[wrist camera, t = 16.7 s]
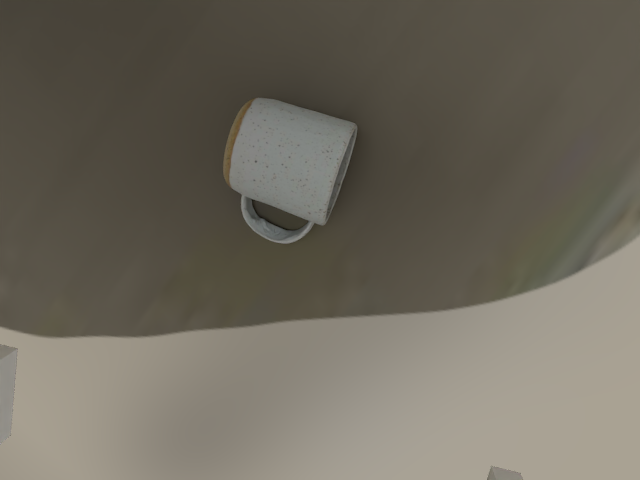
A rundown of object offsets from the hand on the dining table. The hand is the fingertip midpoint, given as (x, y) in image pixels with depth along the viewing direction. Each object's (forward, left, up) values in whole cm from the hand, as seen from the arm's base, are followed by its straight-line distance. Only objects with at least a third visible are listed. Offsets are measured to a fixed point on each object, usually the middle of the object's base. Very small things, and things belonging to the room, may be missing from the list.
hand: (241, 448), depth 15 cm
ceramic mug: (-6, +1, -30) cm, 31 cm away
